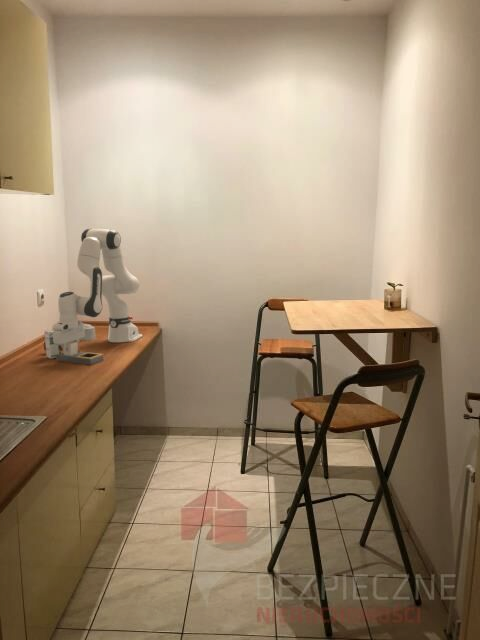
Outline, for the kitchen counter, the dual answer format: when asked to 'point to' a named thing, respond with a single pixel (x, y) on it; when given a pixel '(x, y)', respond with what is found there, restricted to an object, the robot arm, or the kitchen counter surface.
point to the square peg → (71, 348)
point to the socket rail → (81, 358)
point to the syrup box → (51, 345)
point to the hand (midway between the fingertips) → (70, 349)
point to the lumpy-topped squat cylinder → (88, 332)
